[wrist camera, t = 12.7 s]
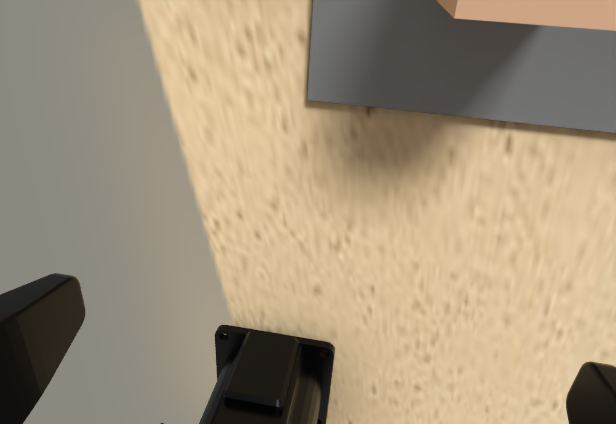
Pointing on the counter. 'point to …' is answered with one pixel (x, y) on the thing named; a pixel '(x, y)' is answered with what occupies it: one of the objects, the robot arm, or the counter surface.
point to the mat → (461, 64)
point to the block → (537, 12)
